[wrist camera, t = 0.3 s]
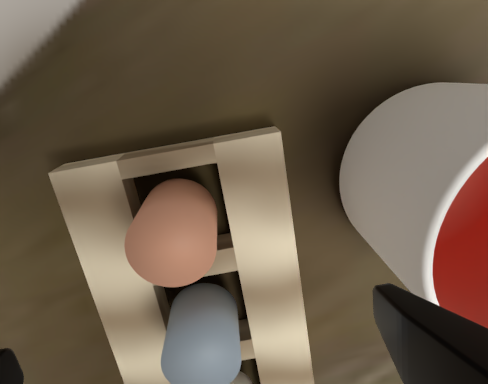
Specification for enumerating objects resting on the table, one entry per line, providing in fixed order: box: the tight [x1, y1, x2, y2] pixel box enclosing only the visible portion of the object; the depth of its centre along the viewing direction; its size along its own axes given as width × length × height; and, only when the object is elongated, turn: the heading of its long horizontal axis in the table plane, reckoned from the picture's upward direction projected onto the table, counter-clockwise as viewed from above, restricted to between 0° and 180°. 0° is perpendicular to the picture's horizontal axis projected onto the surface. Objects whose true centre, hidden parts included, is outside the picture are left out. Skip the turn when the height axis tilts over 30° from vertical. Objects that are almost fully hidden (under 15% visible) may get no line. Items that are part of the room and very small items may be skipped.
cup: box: [339, 82, 488, 328], centre depth 17 cm, size 10×10×10 cm
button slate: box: [161, 283, 241, 384], centre depth 19 cm, size 4×4×4 cm
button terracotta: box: [124, 179, 217, 287], centre depth 17 cm, size 4×4×4 cm
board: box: [48, 126, 314, 384], centre depth 22 cm, size 20×12×2 cm, turn 10°
